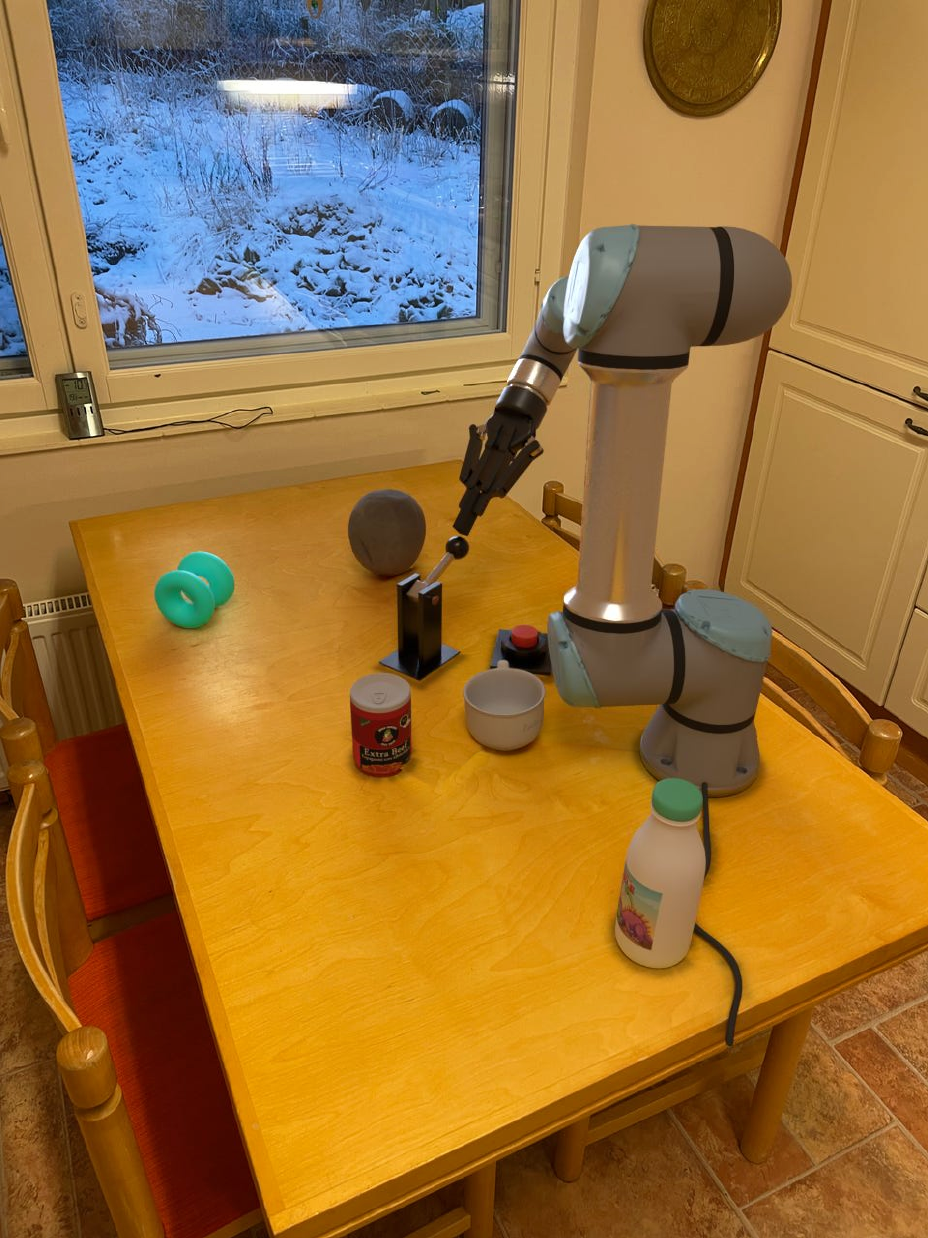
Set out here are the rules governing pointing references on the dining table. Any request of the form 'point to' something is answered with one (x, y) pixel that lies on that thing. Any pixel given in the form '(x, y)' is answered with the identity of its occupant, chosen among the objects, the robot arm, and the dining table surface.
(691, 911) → the milk bottle
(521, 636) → the button
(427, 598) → the black lever stand
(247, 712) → the dining table surface
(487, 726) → the teacup
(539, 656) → the black button base
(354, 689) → the canned food
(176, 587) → the teal spool
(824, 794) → the dining table surface
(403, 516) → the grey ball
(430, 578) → the lever
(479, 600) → the dining table surface
